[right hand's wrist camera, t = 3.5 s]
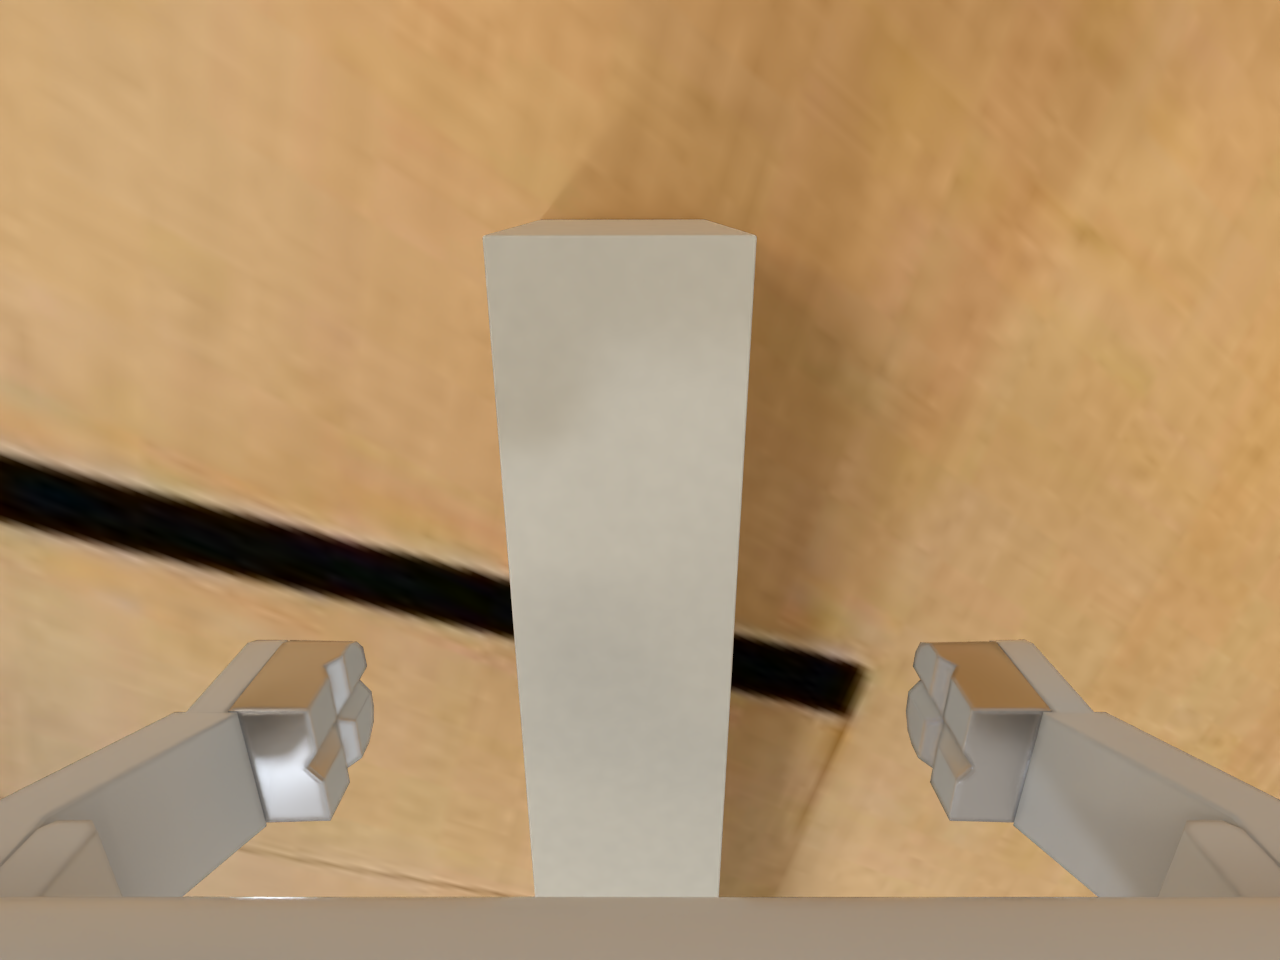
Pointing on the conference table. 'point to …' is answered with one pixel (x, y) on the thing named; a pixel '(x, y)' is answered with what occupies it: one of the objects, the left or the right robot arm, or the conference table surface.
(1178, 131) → the conference table surface
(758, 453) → the conference table surface
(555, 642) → the bar
